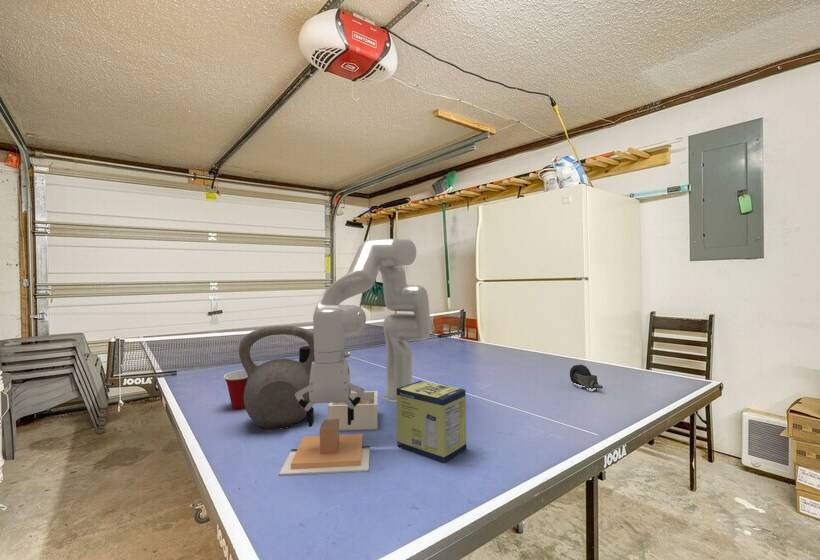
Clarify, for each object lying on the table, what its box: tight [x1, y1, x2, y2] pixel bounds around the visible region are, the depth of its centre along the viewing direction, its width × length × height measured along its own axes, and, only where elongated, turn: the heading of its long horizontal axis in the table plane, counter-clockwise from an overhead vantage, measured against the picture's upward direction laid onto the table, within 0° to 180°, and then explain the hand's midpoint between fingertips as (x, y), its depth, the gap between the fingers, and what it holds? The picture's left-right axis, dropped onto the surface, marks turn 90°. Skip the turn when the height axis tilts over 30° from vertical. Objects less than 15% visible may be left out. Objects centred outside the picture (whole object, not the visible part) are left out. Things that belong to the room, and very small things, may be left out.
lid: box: [291, 418, 364, 469], centre depth 98 cm, size 16×16×7 cm
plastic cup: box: [223, 369, 248, 410], centre depth 136 cm, size 11×11×12 cm
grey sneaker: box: [569, 364, 603, 390], centre depth 154 cm, size 6×10×15 cm
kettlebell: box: [238, 325, 314, 430], centre depth 120 cm, size 24×17×30 cm
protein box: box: [396, 380, 468, 464], centre depth 101 cm, size 10×16×16 cm
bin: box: [327, 390, 379, 431], centre depth 118 cm, size 14×14×8 cm
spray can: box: [298, 345, 310, 363], centre depth 141 cm, size 7×7×20 cm
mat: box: [278, 445, 371, 477], centre depth 98 cm, size 20×20×1 cm
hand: (330, 423), depth 98 cm, fingers open, 9 cm apart
